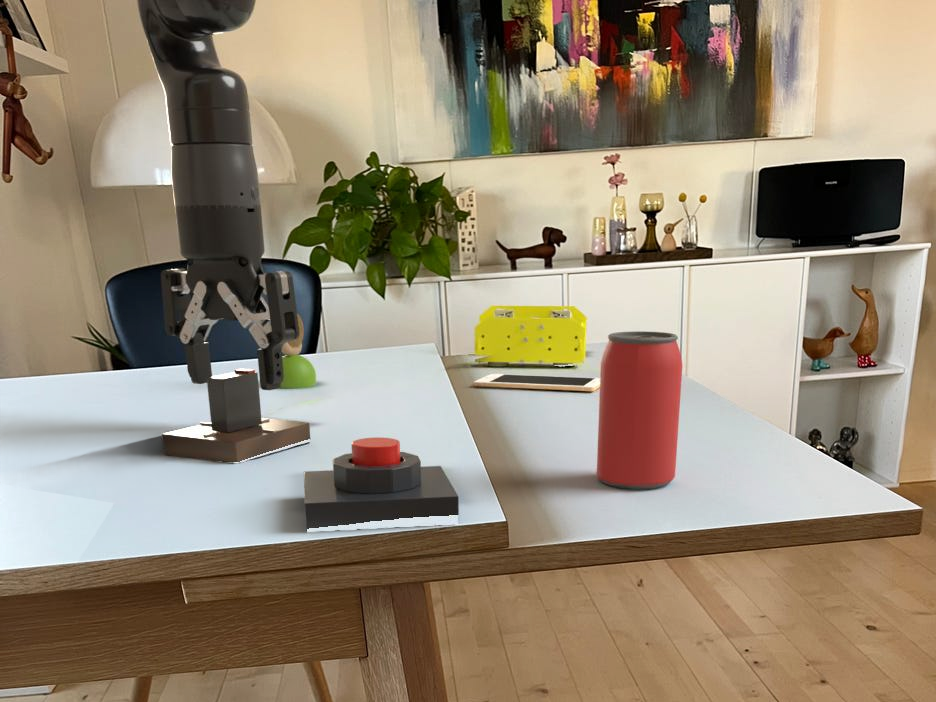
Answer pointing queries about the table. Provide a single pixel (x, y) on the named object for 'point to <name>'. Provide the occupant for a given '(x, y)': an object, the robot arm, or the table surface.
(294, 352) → the snail figurine
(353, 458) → the button
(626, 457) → the beer can
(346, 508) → the button block
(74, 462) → the table surface
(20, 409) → the table surface
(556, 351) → the yellow toy chassis
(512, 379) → the cell phone
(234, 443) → the dial panel
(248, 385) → the dark grey rectangular block
